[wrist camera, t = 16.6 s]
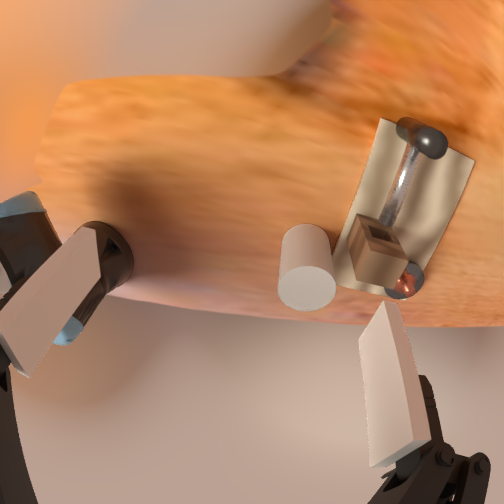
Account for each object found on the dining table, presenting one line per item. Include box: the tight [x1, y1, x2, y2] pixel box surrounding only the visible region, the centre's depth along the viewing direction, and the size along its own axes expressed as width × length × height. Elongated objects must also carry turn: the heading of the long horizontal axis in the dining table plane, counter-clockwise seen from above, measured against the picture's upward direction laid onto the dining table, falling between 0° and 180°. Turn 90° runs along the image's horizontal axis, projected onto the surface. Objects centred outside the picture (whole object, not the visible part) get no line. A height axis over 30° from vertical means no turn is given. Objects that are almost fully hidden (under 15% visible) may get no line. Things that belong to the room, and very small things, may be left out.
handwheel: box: [384, 261, 424, 299], centre depth 46 cm, size 10×8×9 cm
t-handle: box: [378, 117, 448, 227], centre depth 36 cm, size 4×15×10 cm, turn 168°
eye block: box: [332, 118, 475, 301], centre depth 41 cm, size 18×30×12 cm, turn 169°
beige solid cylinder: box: [278, 224, 336, 311], centre depth 46 cm, size 8×8×12 cm
